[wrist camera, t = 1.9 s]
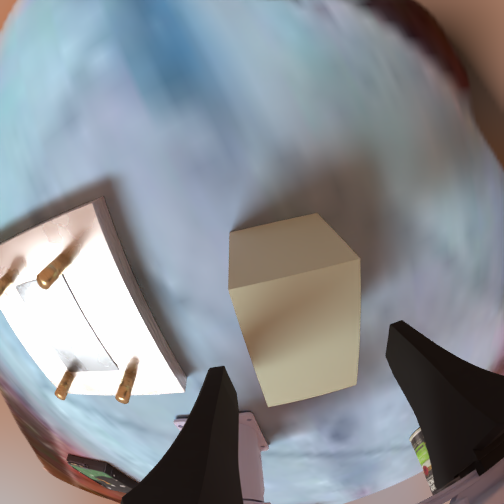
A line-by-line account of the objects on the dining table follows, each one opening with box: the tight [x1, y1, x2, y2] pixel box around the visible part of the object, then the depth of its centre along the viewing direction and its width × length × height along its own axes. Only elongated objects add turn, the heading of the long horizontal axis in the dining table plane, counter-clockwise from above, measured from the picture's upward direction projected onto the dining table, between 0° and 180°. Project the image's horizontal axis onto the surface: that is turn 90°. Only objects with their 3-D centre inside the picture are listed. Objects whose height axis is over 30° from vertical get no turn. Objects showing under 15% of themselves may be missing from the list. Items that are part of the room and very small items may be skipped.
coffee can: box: [410, 428, 461, 495], centre depth 25 cm, size 10×10×14 cm
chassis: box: [0, 196, 187, 404], centre depth 15 cm, size 15×14×4 cm
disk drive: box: [67, 454, 138, 493], centre depth 33 cm, size 10×3×15 cm
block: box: [228, 213, 361, 407], centre depth 14 cm, size 8×5×6 cm, turn 12°
